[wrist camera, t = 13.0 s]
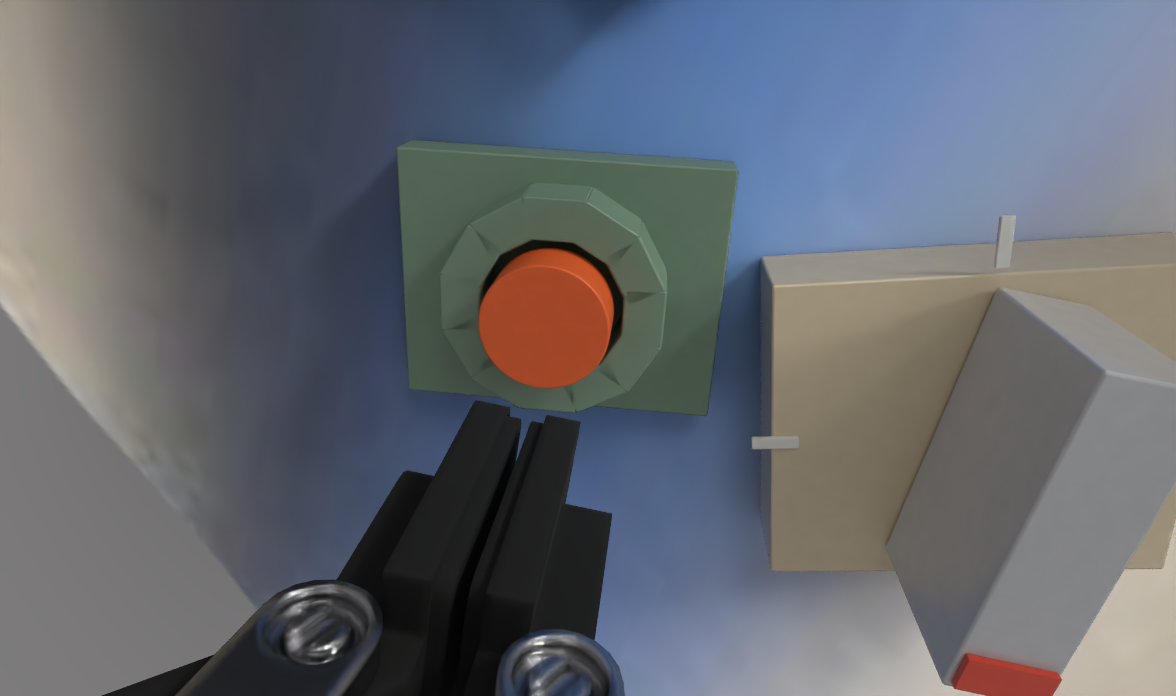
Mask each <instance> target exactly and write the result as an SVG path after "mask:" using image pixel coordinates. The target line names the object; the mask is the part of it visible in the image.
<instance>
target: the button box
mask: <svg viewBox="0 0 1176 696" xmlns="http://www.w3.org/2000/svg"><path fill="white" fill-rule="evenodd" d="M397 166H398V185H399V204H400V224H401V243H402V263H403V282H404V301H405V321H406V340H407V359H408V379H409V389H411V390H422V391H433V392H444V393H455V394H466V395H477V396H489V397H500V398H503V399H505V400H506V401H508V402H510V403H511V404H513V405H514V406H516V407H518V408H519V407H521V408H523V409H534V410H546V411H557V412H568V413H575V412H580V411H583V410H585V409H587V408H590V407H592V406H600V407H611V408H622V409H633V410H644V411H655V412H667V413H678V414H689V415H700V416H707V414H708V406H709V398H710V390H711V383H712V375H713V367H714V359H715V351H716V344H717V336H718V328H719V320H720V312H721V304H722V297H723V289H724V281H725V273H726V265H727V258H728V250H729V242H730V234H731V226H732V219H733V211H734V203H735V195H736V187H737V179H738V169H737V167H736V165H735V163H734V162H733V161H722V160H706V159H691V158H676V157H661V156H646V155H631V154H615V153H600V152H585V151H570V150H555V149H539V148H524V147H509V146H494V145H479V144H464V143H448V142H433V141H418V140H412V141H410V142H408V143H406V144H403V145H401V146H399V147H397ZM539 248H559V249H564V250H568V251H571V252H574V253H576V254H578V255H580V256H582V257H584V258H586V259H587V260H588V261H590V262H591V263H592V264H593V265H594V266H595V267H596V268H597V269H598V270H599V271H600V272H601V273H602V275H603V276H604V278H605V279H606V281H607V283H608V285H609V287H610V289H611V293H612V296H613V302H614V317H613V323H612V328H611V334H610V339H609V344H608V347H607V350H606V353H605V355H604V357H603V359H602V360H601V362H600V363H599V365H598V366H597V367H596V368H595V369H594V370H593V371H592V372H591V373H590V374H589V375H588V376H586V377H585V378H583V379H582V380H580V381H578V382H576V383H574V384H571V385H568V386H564V387H560V388H551V389H548V388H536V387H531V386H528V385H524V384H522V383H519V382H517V381H515V380H513V379H511V378H510V377H508V376H507V375H505V374H504V373H503V372H502V371H501V370H499V369H498V368H497V367H496V366H495V364H494V363H493V362H492V361H491V359H490V358H489V357H488V355H487V353H486V351H485V349H484V348H483V345H482V342H481V340H480V335H479V330H478V315H479V310H480V306H481V303H482V300H483V298H484V296H485V294H486V293H487V291H488V290H489V288H490V287H491V285H492V284H493V282H494V281H495V279H496V278H497V276H498V275H499V274H500V272H501V271H502V269H503V268H504V267H505V266H506V265H507V264H508V263H509V262H510V261H511V260H513V259H514V258H515V257H517V256H519V255H521V254H523V253H525V252H527V251H530V250H534V249H539Z"/></svg>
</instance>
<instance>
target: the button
mask: <svg viewBox="0 0 1176 696" xmlns="http://www.w3.org/2000/svg"><path fill="white" fill-rule="evenodd" d="M613 317H614V302H613V296H612V293H611V289H610V287H609V285H608V283H607V281H606V279H605V278H604V276H603V275H602V273H601V272H600V271H599V270H598V269H597V268H596V267H595V266H594V265H593V264H592V263H591V262H590V261H588V260H587V259H586V258H584V257H582V256H580V255H578V254H576V253H574V252H571V251H568V250H564V249H559V248H539V249H534V250H530V251H527V252H525V253H523V254H521V255H519V256H517V257H515V258H514V259H513V260H511V261H510V262H509V263H508V264H507V265H506V266H505V267H504V268H503V269H502V271H501V272H500V274H499V275H498V276H497V278H496V279H495V281H494V282H493V284H492V285H491V287H490V288H489V290H488V291H487V293H486V294H485V296H484V298H483V300H482V303H481V306H480V310H479V315H478V330H479V335H480V340H481V342H482V345H483V348H484V349H485V351H486V353H487V355H488V357H489V358H490V359H491V361H492V362H493V363H494V364H495V366H496V367H497V368H498V369H499V370H501V371H502V372H503V373H504V374H505V375H507V376H508V377H510V378H511V379H513V380H515V381H517V382H519V383H522V384H524V385H528V386H531V387H536V388H548V389H551V388H560V387H564V386H568V385H571V384H574V383H576V382H578V381H580V380H582V379H583V378H585V377H586V376H588V375H589V374H590V373H591V372H592V371H593V370H594V369H595V368H596V367H597V366H598V365H599V363H600V362H601V360H602V359H603V357H604V355H605V353H606V350H607V347H608V344H609V339H610V334H611V328H612V323H613Z"/></svg>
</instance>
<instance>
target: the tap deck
mask: <svg viewBox="0 0 1176 696" xmlns="http://www.w3.org/2000/svg"><path fill="white" fill-rule="evenodd" d="M1015 221H1016V216H1015V215H1005V216H1000V217H999V225H998V233H997V241H996V243H984V244H967V245H949V246H932V247H915V248H898V249H881V250H864V251H847V252H830V253H813V254H796V255H778V256H763V257H761V259H760V319H761V437H751V447H752V449H761V522H762V527H763V532H764V538H765V543H766V548H767V554H768V559H769V564H770V569H771V571H895V569H894V566H893V564H892V562H891V559H890V557H889V554H888V552H887V550H886V545H887V543H888V541H889V538H890V536H891V534H892V531H893V529H894V527H895V524H896V522H897V520H898V517H899V515H900V513H901V510H902V508H903V506H904V503H905V501H906V499H907V496H908V494H909V492H910V490H911V487H912V485H913V483H914V480H915V478H916V476H917V473H918V471H919V469H920V466H921V464H922V462H923V459H924V457H925V455H926V452H927V450H928V448H929V445H930V443H931V441H932V439H933V436H934V434H935V432H936V429H937V427H938V425H939V422H940V420H941V418H942V415H943V413H944V411H945V408H946V406H947V404H948V401H949V399H950V397H951V394H952V392H953V390H954V387H955V385H956V383H957V381H958V378H959V376H960V374H961V371H962V369H963V367H964V364H965V362H966V360H967V357H968V355H969V353H970V350H971V348H972V346H973V343H974V341H975V339H976V336H977V334H978V332H979V330H980V327H981V325H982V323H983V320H984V318H985V316H986V313H987V311H988V309H989V306H990V304H991V302H992V299H993V297H994V295H995V292H996V290H997V289H998V288H1001V287H1002V288H1007V289H1012V290H1017V291H1022V292H1027V293H1032V294H1037V295H1041V296H1046V297H1051V298H1056V299H1061V300H1066V301H1071V302H1076V303H1081V304H1085V305H1090V306H1092V307H1093V308H1095V309H1096V310H1098V311H1099V312H1101V313H1102V314H1104V315H1105V316H1107V317H1108V318H1110V319H1111V320H1113V321H1114V322H1116V323H1117V324H1119V325H1120V326H1122V327H1123V328H1125V329H1126V330H1128V331H1129V332H1131V333H1132V334H1134V335H1135V336H1137V337H1138V338H1140V339H1141V340H1143V341H1144V342H1146V343H1148V344H1149V345H1151V346H1152V347H1154V348H1155V349H1157V350H1158V351H1160V352H1161V353H1163V354H1164V355H1166V356H1167V357H1169V358H1170V359H1172V360H1173V361H1175V362H1176V234H1174V233H1155V234H1138V235H1121V236H1103V237H1086V238H1069V239H1052V240H1035V241H1018V242H1013V237H1014V229H1015ZM1175 520H1176V485H1175V487H1174V488H1173V490H1172V492H1171V493H1170V495H1169V497H1168V498H1167V500H1166V501H1165V503H1164V505H1163V506H1162V508H1161V510H1160V511H1159V513H1158V515H1157V516H1156V518H1155V520H1154V521H1153V523H1152V525H1151V526H1150V528H1149V530H1148V531H1147V533H1146V535H1145V536H1144V538H1143V540H1142V541H1141V543H1140V545H1139V546H1138V548H1137V549H1136V551H1135V553H1134V554H1133V556H1132V558H1131V559H1130V561H1129V563H1128V564H1127V566H1126V568H1125V569H1162V568H1163V567H1164V563H1165V560H1166V556H1167V552H1168V548H1169V544H1170V540H1171V536H1172V532H1173V528H1174V524H1175Z"/></svg>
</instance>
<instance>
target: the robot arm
mask: <svg viewBox="0 0 1176 696" xmlns="http://www.w3.org/2000/svg"><path fill="white" fill-rule="evenodd" d="M579 429H580V422H578V421H573V420H568V419H564V418H559V417H554V416H549V415H547V416H546V418H545V421H544V424H543V423H538V422H533V421H532V422H531V424H530V426H529V429H528V432H527V434H526V437H525V440H524V442H523V445H522V448H521V450H520V453H519V456H518V458H517V461H516V456H517V450H518V443H519V436H520V430H521V419H519V418H514V417H510V407H506V406H501V405H496V404H491V403H486V402H482V401H475V402H474V404H473V405H472V407H471V409H470V411H469V413H468V415H467V416H466V418H465V420H464V422H463V424H462V426H461V428H460V429H459V431H458V433H457V435H456V437H455V439H454V441H453V442H452V444H451V446H450V448H449V450H448V452H447V453H446V455H445V457H444V459H443V461H442V463H441V465H440V466H439V468H438V470H437V472H436V474H435V476H431V475H426V474H422V473H417V472H412V471H405V472H403V474H402V475H401V476H400V477H399V479H398V481H397V482H396V484H395V486H394V487H393V489H392V490H391V492H390V494H389V495H388V497H387V499H386V500H385V502H384V503H383V505H382V507H381V508H380V510H379V512H378V513H377V515H376V516H375V518H374V520H373V521H372V523H371V525H370V526H369V528H368V529H367V531H366V533H365V534H364V536H363V538H362V539H361V541H360V542H359V544H358V546H357V547H356V549H355V551H354V552H353V554H352V555H351V557H350V559H349V560H348V562H347V564H346V565H345V567H344V569H343V570H342V572H341V573H340V575H339V577H338V578H337V580H313V581H309V582H304V583H300V584H295V585H293V586H291V587H289V588H287V589H285V590H283V591H280V592H278V593H277V594H275V595H274V596H273V597H272V598H270V599H269V600H268V601H267V602H265V603H264V604H263V605H262V606H261V607H260V608H259V609H258V610H257V611H256V612H255V613H254V614H253V615H252V616H251V617H250V618H249V619H248V620H247V621H246V623H245V624H244V625H243V626H242V627H241V628H240V629H239V630H238V631H237V632H236V633H235V634H234V635H233V636H232V637H231V638H230V639H229V641H227V642H226V643H225V644H224V645H223V646H222V647H221V649H220V650H219V651H218V652H217V653H216V654H215V655H212V656H209V657H207V658H204V659H201V660H198V661H196V662H193V663H190V664H188V665H185V666H182V667H179V668H177V669H174V670H171V671H168V672H165V673H163V674H160V675H157V676H155V677H152V678H149V679H146V680H144V681H141V682H138V683H136V684H133V685H130V686H127V687H124V688H122V689H119V690H116V691H114V692H111V693H108V694H105V695H103V696H625V693H624V683H623V680H622V676H621V672H620V669H619V666H618V665H617V663H616V662H615V660H614V659H613V657H612V656H611V654H610V653H609V652H608V651H607V650H606V649H604V648H603V647H602V646H601V645H600V644H599V643H597V642H596V641H594V640H595V633H596V626H597V619H598V612H599V605H600V598H601V591H602V584H603V576H604V569H605V562H606V555H607V548H608V541H609V534H610V527H611V519H612V514H611V513H606V512H602V511H597V510H592V509H587V508H583V507H578V506H573V505H568V504H565V502H566V497H567V492H568V487H569V481H570V476H571V471H572V466H573V460H574V455H575V450H576V445H577V439H578V434H579ZM515 463H516V464H515Z"/></svg>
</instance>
